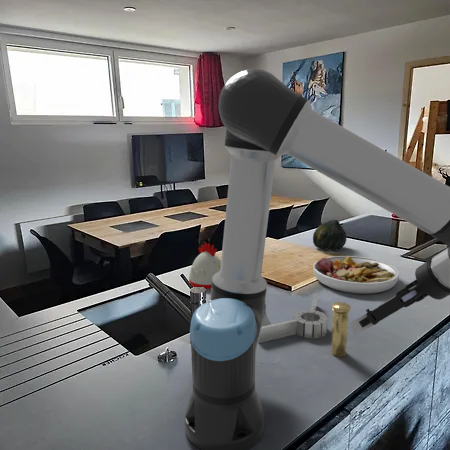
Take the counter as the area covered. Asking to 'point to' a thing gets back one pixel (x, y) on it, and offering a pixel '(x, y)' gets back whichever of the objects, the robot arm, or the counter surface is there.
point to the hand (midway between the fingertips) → (368, 319)
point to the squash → (330, 236)
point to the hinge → (298, 325)
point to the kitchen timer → (204, 267)
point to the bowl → (355, 274)
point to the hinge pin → (339, 328)
